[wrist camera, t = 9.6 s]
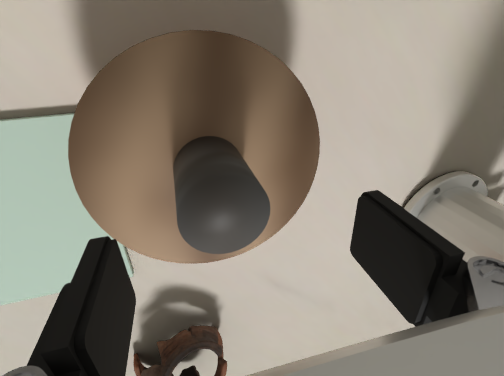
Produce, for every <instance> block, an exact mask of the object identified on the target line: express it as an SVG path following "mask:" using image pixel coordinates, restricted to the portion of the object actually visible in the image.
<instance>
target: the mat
mask: <svg viewBox="0 0 504 376" xmlns="http://www.w3.org/2000/svg"><path fill="white" fill-rule="evenodd" d="M73 116H74V113H68V114H57V115H46V116H35V117H24V118H13V119H2V120H0V305H5V304H9V303H14V302H19V301H23V300H28V299H32V298H37V297H41V296H46V295H50V294H55V293H59V292H61V289H62V288H63V286H64V285H65V284H67V283H71V280H72V278H73V276H74V274H75V271H76V269H77V267H78V264H79V262H80V260H81V257H82V255H83V253H84V250H85V248H86V246H87V243H88V241H89V240H90V239H94V238H99V237H105V236H109V237H110V238H111V240H113V238H112V237H111V236H110V235H109V234H107V233H106V232H105V231H104V230H103V229H102V228H101V227H100V226H99V225H98V224H97V223H96V222H95V221H94V219H93V218H92V217H91V216H90V214H89V213H88V211H87V210H86V208H85V207H84V206H83V204H82V202H81V200H80V198H79V196H78V194H77V192H76V189H75V186H74V183H73V180H72V177H71V173H70V166H69V160H68V139H69V133H70V128H71V122H72V119H73ZM117 243H118V246H119V248H120V251H121V254H122V257H123V260H124V263H125V266H126V269H127V272H128V275H129V277H132V276H133V274H134V272H133V269H132V266H131V263H130V260H129V257H128V254H127V251H126V248H125V246H124V245H123V244H121V243H119V242H118V241H117Z"/></svg>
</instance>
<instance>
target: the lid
mask: <svg viewBox="0 0 504 376" xmlns="http://www.w3.org/2000/svg"><path fill="white" fill-rule="evenodd" d="M319 145H320V138H319V129H318V123H317V119H316V115H315V111H314V108H313V106H312V103H311V101H310V98H309V96H308V94H307V93H306V91H305V89H304V87H303V86H302V84H301V83H300V81H299V80H298V79H297V77H296V76H295V75H294V73H293V72H292V71H291V70H290V69H289V68H288V67H287V66H286V65H285V64H284V63H283V62H282V61H281V60H280V59H278V58H277V57H276V56H274V55H273V54H271V53H270V52H269V51H267V50H266V49H264V48H262V47H260V46H258V45H257V44H255V43H253V42H251V41H249V40H246V39H243V38H240V37H237V36H234V35H231V34H226V33H221V32H215V31H201V30H189V31H180V32H171V33H168V34H164V35H160V36H157V37H153V38H150V39H148V40H146V41H143V42H141V43H139V44H137V45H134V46H132V47H131V48H129V49H128V50H126V51H124V52H123V53H121V54H120V55H118V56H117V57H115V58H114V59H113V60H112V61H111V62H110V63H108V64H107V65H106V66H105V67H104V68H103V69H102V70H101V71H100V72H99V73H98V74H97V75H96V77H95V78H94V79H93V80H92V82H91V83H90V84H89V85H88V87H87V88H86V90H85V92H84V94H83V96H82V97H81V99H80V101H79V103H78V105H77V108H76V111H75V113H74V116H73V119H72V122H71V128H70V133H69V139H68V160H69V166H70V173H71V177H72V180H73V183H74V186H75V189H76V192H77V194H78V196H79V198H80V200H81V202H82V204H83V206H84V207H85V208H86V210H87V211H88V213H89V214H90V216H91V217H92V218H93V219H94V221H95V222H96V223H97V224H98V225H99V226H100V227H101V228H102V229H103V230H104V231H105V232H106V233H107V234H109V235H110V236H111V237H112V238H113V239H116V240H117V241H118V242H119V243H121V244H123V245H124V246H126V247H127V248H130V249H132V250H134V251H136V252H138V253H140V254H143V255H145V256H148V257H151V258H154V259H159V260H163V261H167V262H175V263H193V264H194V263H208V262H213V261H219V260H223V259H227V258H230V257H234V256H236V255H239V254H242V253H244V252H247V251H249V250H251V249H253V248H255V247H257V246H258V245H260V244H261V243H263V242H265V241H266V240H268V239H269V238H270V237H272V236H273V235H274V234H276V233H277V232H278V231H279V230H280V229H281V228H282V227H283V226H284V225H286V224H287V223H288V221H289V220H290V219H291V218H292V217H293V216H294V214H295V213H296V212H297V210H298V209H299V207H300V206H301V205H302V203H303V201H304V200H305V198H306V196H307V194H308V192H309V190H310V188H311V185H312V183H313V180H314V177H315V173H316V170H317V166H318V159H319Z"/></svg>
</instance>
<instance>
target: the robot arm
mask: <svg viewBox="0 0 504 376" xmlns="http://www.w3.org/2000/svg"><path fill="white" fill-rule="evenodd" d="M350 251H351V254H352V256H353V257H354V258H355V259H356V261H357V262H358V263H359V264H360V265H361V267H362V268H363V269H364V270H365V271H366V273H367V274H368V275H369V276H370V277H371V279H372V280H373V281H374V282H375V283H376V284H377V286H378V287H379V288H380V289H381V290H382V292H383V293H384V294H385V295H386V296H387V298H388V299H389V300H390V301H391V302H392V303H393V305H394V306H395V307H396V308H397V309H398V311H399V312H400V313H401V314H402V315H403V317H404V318H405V319H406V320H407V321H408V322H409V323H411V324H414V325H415V327H413V328H410V329H406V330H403V331H399V332H396V333H392V334H389V335H385V336H381V337H378V338H374V339H371V340H367V341H364V342H360V343H357V344H354V345H350V346H347V347H343V348H340V349H336V350H333V351H329V352H326V353H322V354H319V355H316V356H312V357H309V358H305V359H302V360H298V361H295V362H291V363H288V364H285V365H281V366H278V367H274V368H271V369H268V370H264V371H261V372H257V373H254V374H251V375H247V376H504V205H503V204H501V203H499V202H497V201H495V200H493V199H491V198H489V197H488V192H487V187H486V184H485V182H484V181H483V180H482V179H481V178H480V177H478V176H476V175H474V174H472V173H468V172H464V171H457V172H452V173H448V174H445V175H443V176H440V177H438V178H436V179H434V180H433V181H431V182H429V183H428V184H427V185H425V186H424V187H423V188H421V189H420V190H419V191H418V192H417V193H416V194H415V195H414V196H413V197H412V198H411V199H410V201H409V202H408V203H407V204H406V206H405V207H404V208H402V207H401V206H400V205H398V204H397V203H395V202H394V201H393V200H391V199H390V198H388V197H387V196H386V195H384V194H383V193H381V192H380V191H378V190H375V191H369V192H364V193H363V194H362V195H361V197H359V199H358V203H357V209H356V216H355V222H354V228H353V234H352V240H351V246H350ZM135 305H136V297H135V292H134V290H133V287H132V284H131V281H130V278H129V275H128V272H127V269H126V266H125V263H124V260H123V257H122V254H121V251H120V248H119V246H118V243H117V240H116V239H113V240H111V238H110V237H109V236H105V237H99V238H94V239H90V240H89V241H88V243H87V246H86V248H85V250H84V253H83V255H82V257H81V260H80V262H79V264H78V267H77V269H76V271H75V274H74V276H73V278H72V280H71V283H67V284H65V285H64V286H63V288H62V289H61V292H60V294H59V296H58V298H57V300H56V303H55V305H54V307H53V309H52V311H51V314H50V316H49V318H48V320H47V322H46V325H45V327H44V329H43V331H42V333H41V335H40V338H39V340H38V342H37V344H36V346H35V349H34V351H33V353H32V355H31V357H30V360H29V362H28V364H27V366H24V367H19V368H17V369H14V370H12V371H10V372H8V373H6V374H4V375H3V376H125V373H126V367H127V360H128V353H129V346H130V339H131V332H132V325H133V319H134V312H135Z"/></svg>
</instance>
